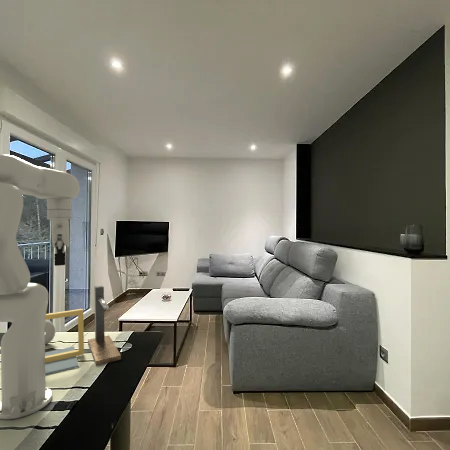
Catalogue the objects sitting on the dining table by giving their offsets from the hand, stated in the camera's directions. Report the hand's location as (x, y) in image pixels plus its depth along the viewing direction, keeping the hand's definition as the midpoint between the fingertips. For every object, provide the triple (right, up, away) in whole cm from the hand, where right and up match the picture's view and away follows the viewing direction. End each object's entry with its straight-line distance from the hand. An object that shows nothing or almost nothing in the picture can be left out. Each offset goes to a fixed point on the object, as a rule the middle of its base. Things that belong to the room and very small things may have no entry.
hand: (60, 263), depth 104 cm
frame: (+1, -33, -1) cm, 33 cm away
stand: (+13, -33, +6) cm, 36 cm away
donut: (-14, -34, +13) cm, 39 cm away
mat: (0, -33, -2) cm, 33 cm away
